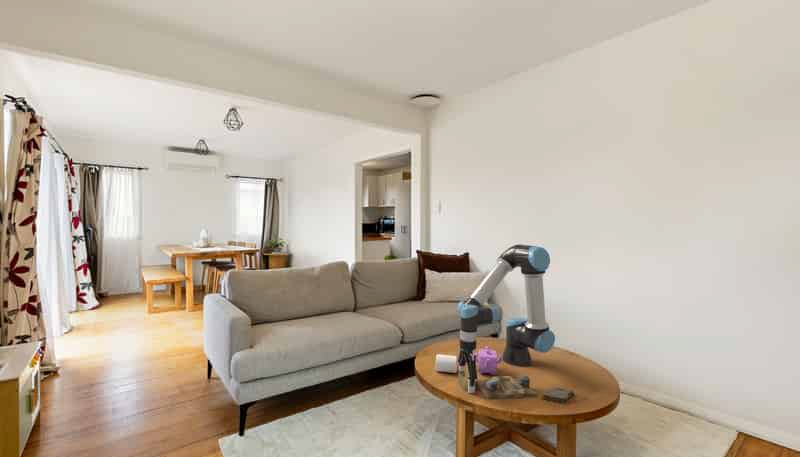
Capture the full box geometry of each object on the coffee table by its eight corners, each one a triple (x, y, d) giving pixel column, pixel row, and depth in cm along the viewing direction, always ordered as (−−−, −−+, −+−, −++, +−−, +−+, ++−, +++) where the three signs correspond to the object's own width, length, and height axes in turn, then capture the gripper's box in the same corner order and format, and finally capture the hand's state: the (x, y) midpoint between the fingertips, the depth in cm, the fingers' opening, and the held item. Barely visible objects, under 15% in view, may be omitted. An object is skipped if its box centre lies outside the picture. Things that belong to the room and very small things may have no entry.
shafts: (526, 383, 169) (526, 375, 169) (533, 390, 163) (533, 381, 163) (481, 385, 165) (482, 377, 165) (487, 392, 159) (487, 383, 159)
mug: (455, 375, 178) (456, 359, 178) (435, 373, 180) (436, 357, 180) (457, 366, 190) (457, 351, 190) (437, 364, 192) (438, 349, 192)
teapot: (466, 368, 188) (467, 347, 187) (486, 363, 194) (487, 343, 194) (487, 380, 175) (488, 357, 174) (507, 374, 181) (508, 353, 181)
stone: (557, 390, 167) (557, 383, 167) (576, 397, 161) (576, 390, 161) (541, 400, 157) (541, 393, 157) (560, 408, 151) (560, 401, 151)
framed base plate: (520, 380, 175) (520, 375, 174) (537, 396, 160) (537, 390, 160) (474, 383, 171) (474, 377, 171) (487, 398, 156) (487, 392, 156)
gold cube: (470, 383, 171) (471, 370, 170) (475, 389, 165) (475, 376, 165) (458, 383, 170) (458, 371, 170) (462, 390, 164) (462, 376, 164)
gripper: (452, 331, 178) (450, 374, 179) (469, 349, 154) (467, 399, 155) (467, 331, 179) (465, 374, 180) (486, 348, 155) (484, 398, 156)
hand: (466, 386), depth 167 cm, fingers open, 12 cm apart
